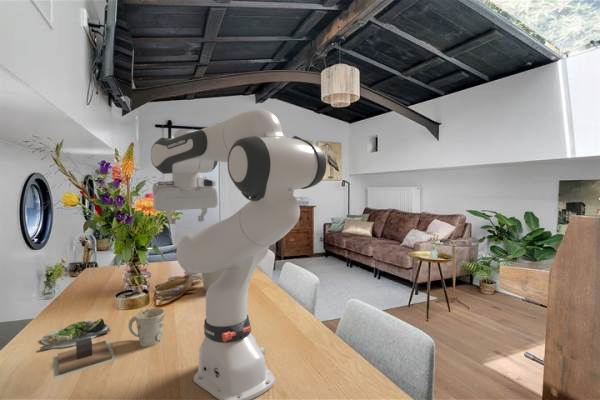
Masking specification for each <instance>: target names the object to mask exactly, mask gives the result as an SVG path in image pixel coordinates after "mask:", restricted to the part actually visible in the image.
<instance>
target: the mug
mask: <svg viewBox="0 0 600 400" xmlns="http://www.w3.org/2000/svg"><path fill="white" fill-rule="evenodd" d="M164 319H165V310H164V309H163V308H159V307H158V308H157V307H156V308H147V309H144V310H141V311H139V312H137V313H136V314H135V316H132V317H131V318H130V319H129V322H128V331H129V332H130V333H131V334H132V335H133V336H134V337H138V340H139V345H140V347H142V348H150V347H154V346H156V345H158V344H160V343H161V342H162V337H163V327H164ZM134 322H136V328H137V332H136V331H135V330H134V327H133V323H134Z"/></svg>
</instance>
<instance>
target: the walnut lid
mask: <svg viewBox="0 0 600 400" xmlns="http://www.w3.org/2000/svg"><path fill="white" fill-rule="evenodd" d="M57 355H58V367H59V375H62V374H65V373H68V372H71V371H75V370H78V369H81V368H84V367H88V366H91V365H94V364H97V363H101V362H104V361H107V360H110V359H112V356H111V353H110V351H109V348H108V346H107V343H106V340H102V341H99V342H95V343H93V340H92V339H91V337H90V338H86V339H83V340H79V341H76V346H75V348H73V349H71V350H70V349H69V350H66V351H62V352H60V353H57Z"/></svg>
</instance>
